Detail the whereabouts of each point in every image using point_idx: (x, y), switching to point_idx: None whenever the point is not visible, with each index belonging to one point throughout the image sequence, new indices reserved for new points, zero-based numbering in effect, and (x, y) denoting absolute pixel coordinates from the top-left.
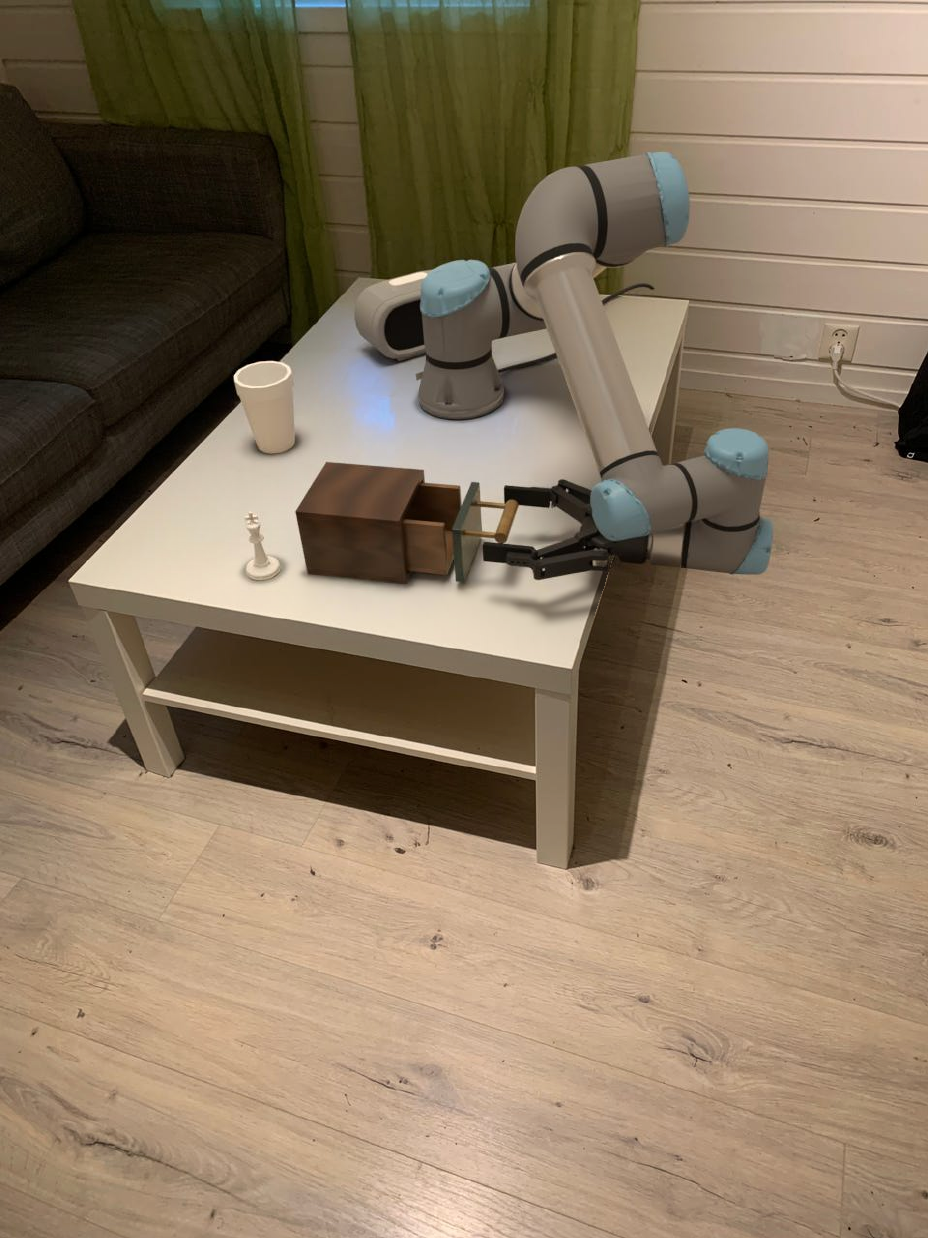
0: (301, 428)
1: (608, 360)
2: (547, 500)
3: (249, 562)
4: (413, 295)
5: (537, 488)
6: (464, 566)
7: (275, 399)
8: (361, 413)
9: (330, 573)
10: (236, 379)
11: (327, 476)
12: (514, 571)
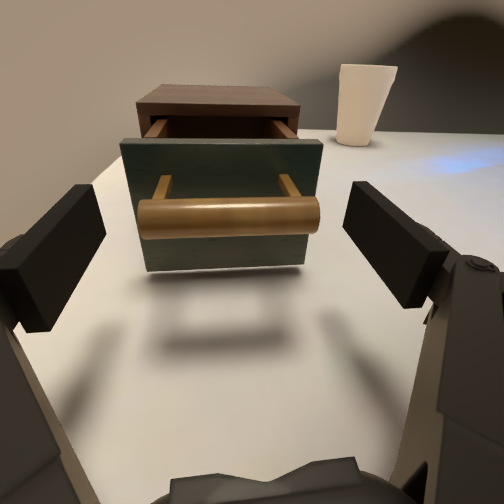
0: (384, 145)
1: None
2: (411, 280)
3: None
4: None
5: (416, 225)
6: (153, 246)
7: (355, 83)
8: (444, 159)
9: None
10: (348, 64)
11: (239, 87)
12: (216, 346)
